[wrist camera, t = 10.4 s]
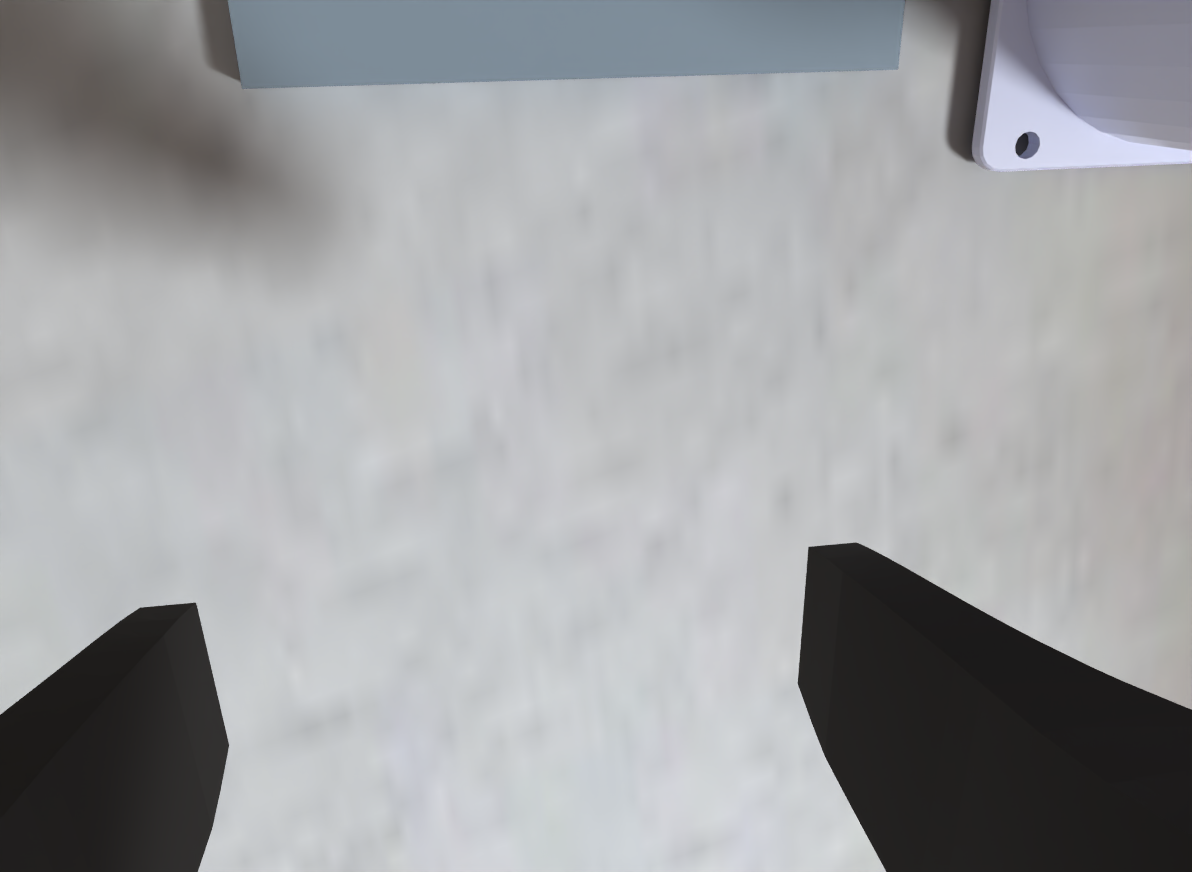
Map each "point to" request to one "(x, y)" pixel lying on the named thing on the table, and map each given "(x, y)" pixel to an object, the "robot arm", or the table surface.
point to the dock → (554, 39)
